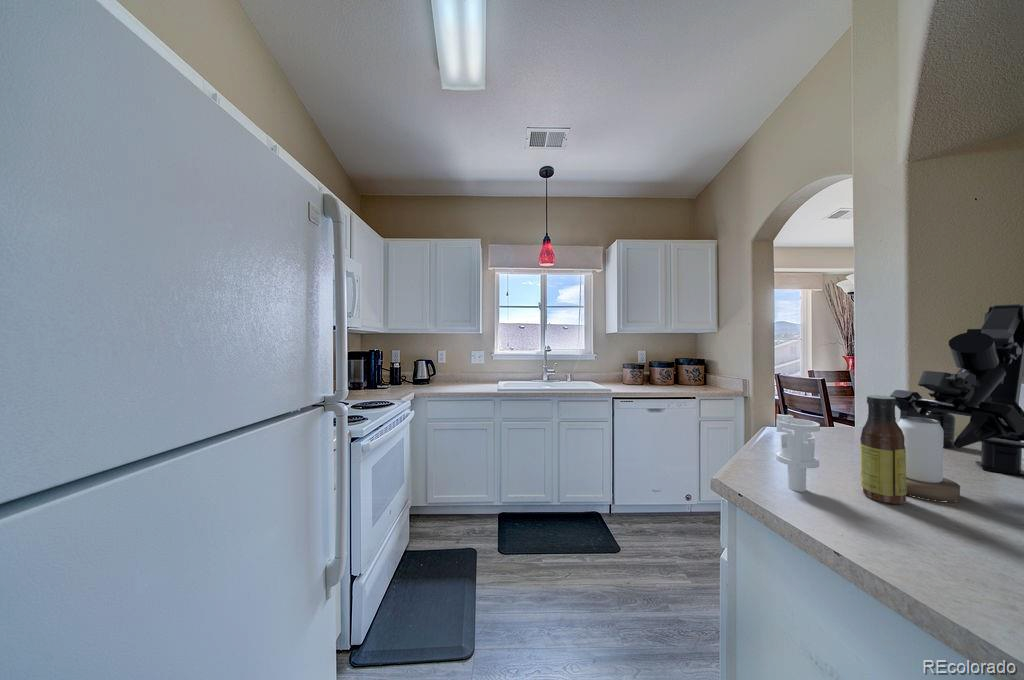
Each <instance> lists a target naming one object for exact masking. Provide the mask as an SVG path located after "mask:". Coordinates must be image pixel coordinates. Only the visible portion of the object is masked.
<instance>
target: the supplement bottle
mask: <svg viewBox="0 0 1024 680" xmlns="http://www.w3.org/2000/svg"><path fill="white" fill-rule="evenodd" d="M922 417H923V418H928V419H933V420H937V421H940V422H941V423H940V425H941V427H942V428H943V431H944V441H943V447H945V448H944V449H950V448H952V449H953V447H955V446H954V445H953V443H954V442H955V440H956V417H955V415H953V414H949V413H946V412H940V411H934V410H929V412H928V413H927V414H926V415H924V416H922Z"/></svg>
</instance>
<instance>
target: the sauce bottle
mask: <svg viewBox="0 0 1024 680" xmlns="http://www.w3.org/2000/svg"><path fill="white" fill-rule="evenodd" d="M866 404H867V405H868V406H867V407H868V410H867V411H868V414H867V420H866V422H865V423H864V426H863V427H862V429H861V433H860V439H859V440H860V476H861V478H860V479H861V483H860V484H861V487H862V493H863V495H865V496H866V497H868V498H869V499H871V500H873V501H877V502H881V503H886V504H890V505H891V504H892V505H903V504H906V501H907V497H906V496H907V495H906V494H907V484H906V448H905V445H904V440H905V438H904V435H903V432H902V430H901V428H900V427H899V426H898V424H897V423H898V422H897V421H896V420H897V417H896V407H897V406H896V404H897V403H896V398H894V397H890V395H889V396H887V395H877V394H876V395H875V394H872V395H867V396H866Z"/></svg>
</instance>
